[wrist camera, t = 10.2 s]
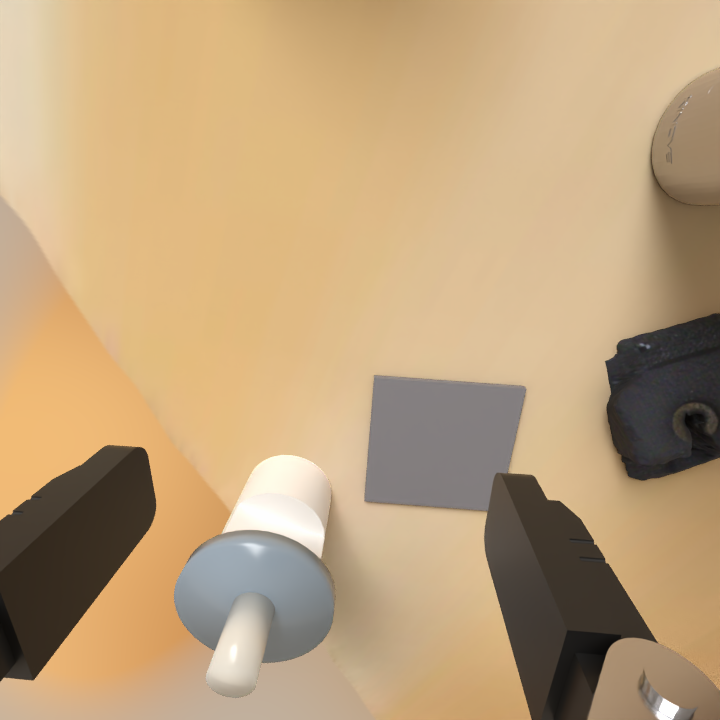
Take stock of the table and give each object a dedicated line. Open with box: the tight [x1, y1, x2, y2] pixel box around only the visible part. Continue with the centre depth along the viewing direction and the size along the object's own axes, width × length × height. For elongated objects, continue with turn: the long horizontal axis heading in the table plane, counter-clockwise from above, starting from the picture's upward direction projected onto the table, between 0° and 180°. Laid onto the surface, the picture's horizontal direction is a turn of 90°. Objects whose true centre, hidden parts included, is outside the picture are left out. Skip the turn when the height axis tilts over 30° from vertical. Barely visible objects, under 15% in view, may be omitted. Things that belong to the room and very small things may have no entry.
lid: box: [174, 530, 335, 698], centre depth 28 cm, size 12×12×6 cm
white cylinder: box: [222, 455, 331, 559], centre depth 37 cm, size 9×9×12 cm
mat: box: [365, 375, 526, 511], centre depth 40 cm, size 14×14×1 cm
